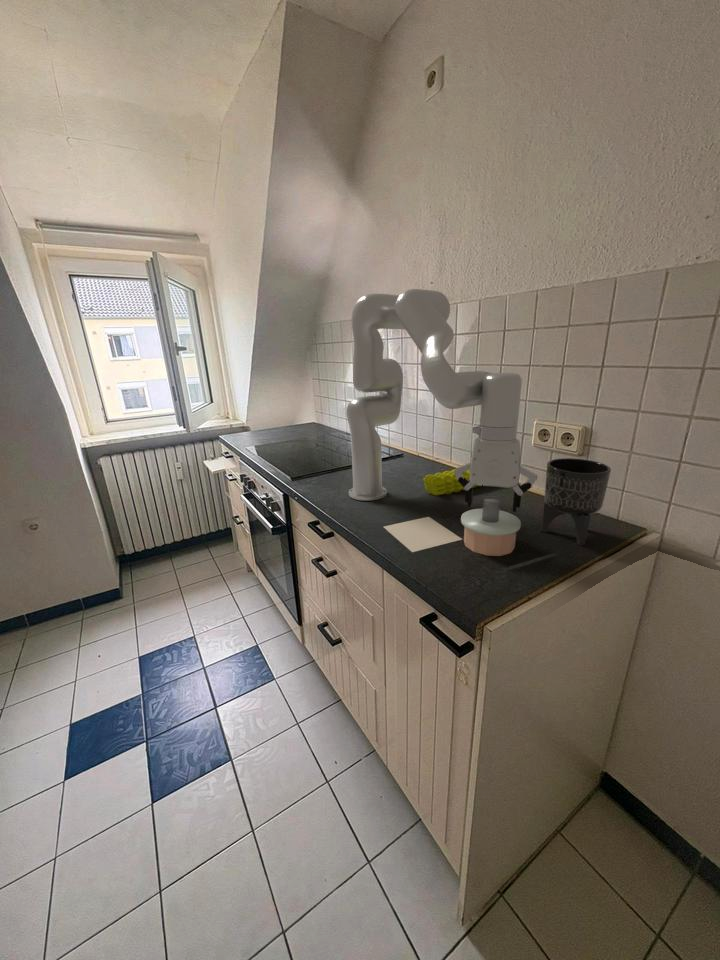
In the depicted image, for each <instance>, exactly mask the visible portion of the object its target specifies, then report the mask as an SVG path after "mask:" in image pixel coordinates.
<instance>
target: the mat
mask: <svg viewBox="0 0 720 960" xmlns="http://www.w3.org/2000/svg"><path fill="white" fill-rule="evenodd" d="M383 528H384V529H385V530H386V531H387V532H388V533H389V534H391V536H393V538H395V539H396V540H397V541H399V542H400V543H401V544H402V545H403V546H404V547H405V548H407V550H409V551H410V552H411V553H415V552H420V551H424V550H427V549H431V548H435V547H439V546H444V545H447V544H451V543H454V542H459V541H462V540H463V541H464V538H462V537H460V536H458V535H457V534H455V533H454V532H452V531H451V530H449V529H448V528H446V527H445V526H443V524H440V523H438V522H437V521H436V520H434V519H433V518H431V517H430V516H426V517H421V518H417V519H412V520H406V521H403V522H397V523H394V524H390V525H386V526H383Z"/></svg>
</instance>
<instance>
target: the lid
mask: <svg viewBox="0 0 720 960" xmlns="http://www.w3.org/2000/svg"><path fill="white" fill-rule="evenodd" d="M482 501H483V503H482V508H474V509H473V508H472V509H469V510H467V511H465V512H463V513H462V514H461V517H460V523H461V524H462V526H464V528H465V527H466V528H467V529H469V530H471V531H474V532H477V533H481V534H486V535H496V536H498V535H509V534H513V533H515V532H516V533H517V532H518V531H520V529H521V525H522V522H521V519H519V517H518V516H516V515H514V514H512V513H511V512H509V511H508V512H507V511H505V510H501V509H500V508H501V501H500V500H498V499H495V498H485V499H484V500H482Z"/></svg>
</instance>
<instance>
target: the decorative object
mask: <svg viewBox="0 0 720 960" xmlns="http://www.w3.org/2000/svg"><path fill="white" fill-rule="evenodd" d="M455 469H456V468H454V469H452V470H445V471H444V472H436V473H435V474H432V473H431V474H427V475H425V477H423V479H422V480H423V482H424V483H423V485H424V489H425V490H426V491H427V494H428V495H432V496H433V495H434V496H442V495H450V494H452V493H458V492H461V491H466V490H465V489H464V487H463V486H462V485H461V484H460V483H459V482H458V479H457V477H456V475H455V473H454V470H455ZM462 475H463V477H464V478H465V479H466V480H467V481H469V480H470V470H468V471H465V472H463V473H462ZM476 487H483V486H482V485H474V486H473V487H472V488H473V489H474V488H476Z"/></svg>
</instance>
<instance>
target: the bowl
mask: <svg viewBox="0 0 720 960" xmlns="http://www.w3.org/2000/svg"><path fill="white" fill-rule="evenodd" d="M463 534H464V535H463V542H464V543H463V544H464V546H465V547H466V548H467V549H469V550H470V551H472V552H473V553H477V554H480V555H484V556H488V557H489V556H491V557H492V556H493V557H501V556H505V555H508V554H511V553H512V552H513V551H514V549H515V548H516V547H515V546H516V540H517V539H516V537H517V532H515V533H513V534H509V535H498V536H496V535H486V534H481V533H477V532H474V531H471V530H469V529H467V528H466V527H464V531H463Z"/></svg>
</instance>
